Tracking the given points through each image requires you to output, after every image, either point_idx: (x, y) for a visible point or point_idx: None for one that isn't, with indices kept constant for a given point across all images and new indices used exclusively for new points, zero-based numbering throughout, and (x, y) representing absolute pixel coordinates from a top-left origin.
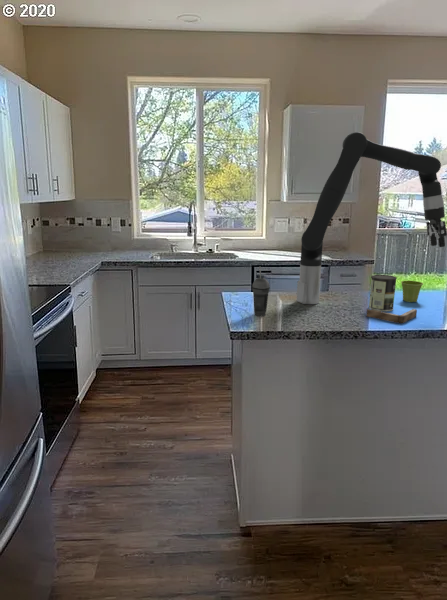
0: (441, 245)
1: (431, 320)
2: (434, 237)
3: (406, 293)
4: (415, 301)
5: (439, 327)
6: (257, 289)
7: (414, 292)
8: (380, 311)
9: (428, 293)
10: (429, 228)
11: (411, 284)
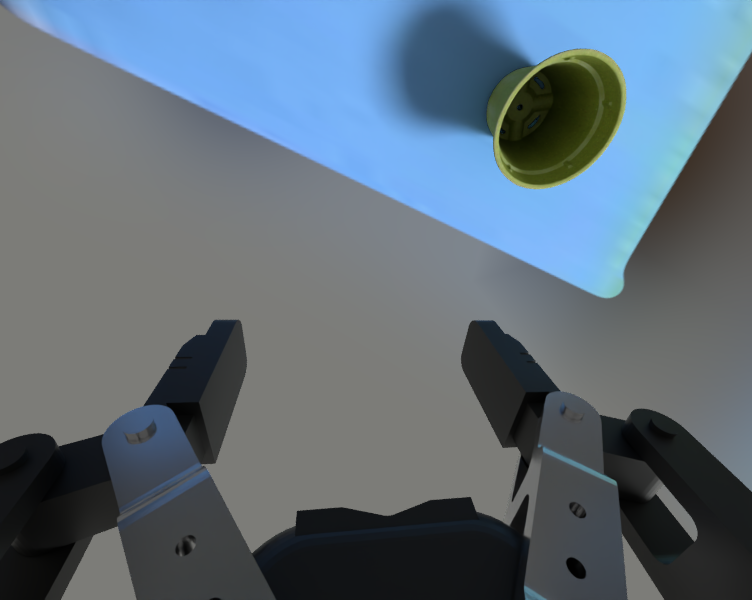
0: (196, 342)
1: (171, 45)
2: (503, 423)
3: (520, 74)
4: (487, 123)
5: (54, 27)
6: None
7: (494, 117)
8: None
9: (595, 245)
10: (597, 584)
11: (585, 143)
